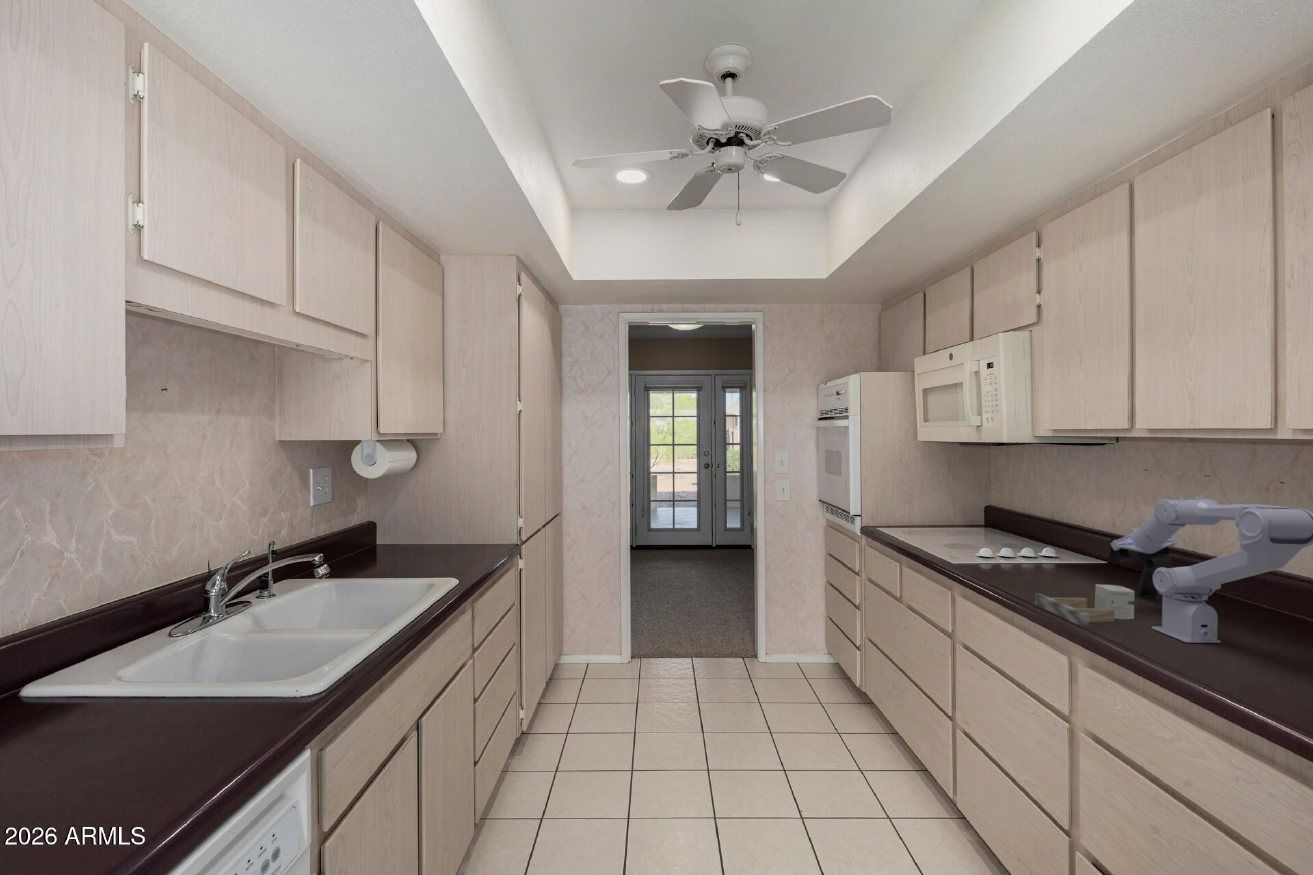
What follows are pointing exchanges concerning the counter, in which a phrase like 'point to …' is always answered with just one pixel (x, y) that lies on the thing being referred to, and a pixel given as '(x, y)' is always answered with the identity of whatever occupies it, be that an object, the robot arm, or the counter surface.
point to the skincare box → (1115, 600)
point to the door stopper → (1151, 580)
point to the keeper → (1074, 609)
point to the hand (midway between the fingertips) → (1126, 559)
